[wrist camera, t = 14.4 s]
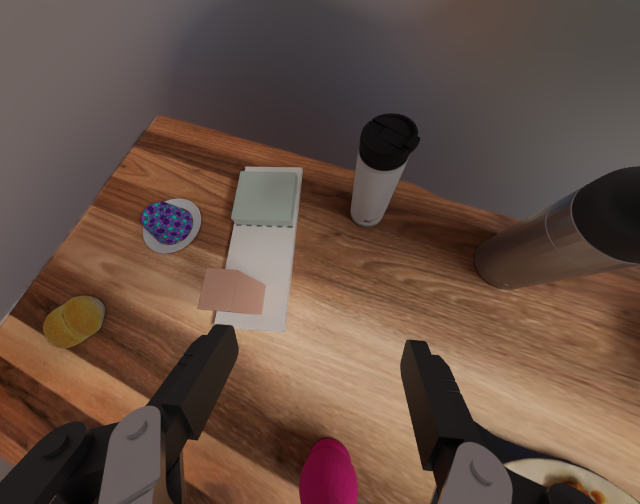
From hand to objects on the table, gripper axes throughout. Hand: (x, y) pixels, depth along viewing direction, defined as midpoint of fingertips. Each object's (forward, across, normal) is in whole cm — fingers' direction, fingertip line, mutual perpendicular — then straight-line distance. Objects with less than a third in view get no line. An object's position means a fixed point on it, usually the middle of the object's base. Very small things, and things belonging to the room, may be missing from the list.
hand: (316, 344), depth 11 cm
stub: (+22, +14, +16) cm, 31 cm away
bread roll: (+19, +45, +22) cm, 54 cm away
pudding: (+33, +33, +8) cm, 47 cm away
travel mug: (+36, -6, +5) cm, 37 cm away
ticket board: (+31, +14, +10) cm, 35 cm away
